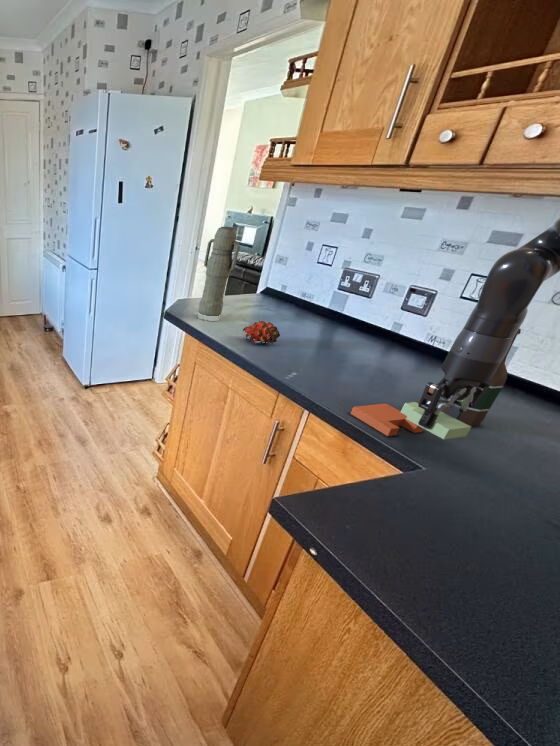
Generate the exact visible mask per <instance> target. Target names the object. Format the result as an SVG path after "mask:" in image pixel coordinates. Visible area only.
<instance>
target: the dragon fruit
mask: <svg viewBox="0 0 560 746" xmlns="http://www.w3.org/2000/svg"><path fill="white" fill-rule="evenodd" d="M242 332H244V333H245V334H244V337H245V336H246V337H245V338H247V337H248V336H249V338H250V339H249V340H251V342H254V344H256V345H258V344H259V343H256V342H255V341H261V342H260V343H261V344H262V345H268V343H270V344H271V343H273V342H274V343H276V342H277V341H278V340H277V339H279V338H280V337H281V334H280V331H279V329H278V327H277V326H275V325H274V324H273V323H272V322H271V321H268V322H266V321H264V320H258V322H257V321H256V322H254V323H253V324H250V325H248V326H245V327H244V328H243V329H242ZM253 339H255V340H253ZM262 342H265V343H262ZM266 342H268V343H266Z"/></svg>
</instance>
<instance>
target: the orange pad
mask: <svg viewBox="0 0 560 746" xmlns="http://www.w3.org/2000/svg"><path fill="white" fill-rule="evenodd" d="M350 415H352V416H353V417H355V418H357V419H358V420H360V421H362V422H363V423H365V424H367V425H368V426H370V427H372V428H373V429H375V430H376V431H378V432H380V433H381V434H382V435H385V436H386V437H392V436H397V435H398V432H399V431H400V427H402V428H405V429H406V430H408V431H409V432H412V433H414V434H415V433H416V434H417V433H422V432H423V431H424V430H425V429H424V428H422V427H420V426H418V425H416V424H414V423H413V422H411V421H409V420H407V419H406V418H407V416H406V415H404V414H402V413H401V410H399V409H398V408H396V407H393V406H391V405H390V404H389V403H378V404H377V403H375V404H368V405H357V406H352V409H351V411H350Z"/></svg>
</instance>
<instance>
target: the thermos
mask: <svg viewBox="0 0 560 746" xmlns="http://www.w3.org/2000/svg"><path fill="white" fill-rule="evenodd" d="M236 240H237V230H236V228H235V227H233V226H220V227H218V229H217V230H216V232H215V234H214V238H211V239H210V240H209V241H208V242H207V247H206V251H205V257H204V263H203V266H204V267H205V269H206V270H205V281H204V286H203V290H202V291H203V292H202V297H201V299H200V300H199V305H198V308H197V312H199V313H200V314H202V315H206V316H219V315H220V316H221V314H222V312H223V307H224V296H225V292H226V286H227V282H228V279H229V277H230V275H231V272H232V271H233V270H235V268H236V265H237V261H238V257H239V253H240V249H241V245H240V242H237V241H236ZM211 249H212V251H211ZM233 251H234V252H233ZM203 321H204V322H206V321H205V320H203Z"/></svg>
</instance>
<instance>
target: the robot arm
mask: <svg viewBox="0 0 560 746" xmlns="http://www.w3.org/2000/svg"><path fill="white" fill-rule="evenodd" d="M559 272H560V217H559V218H558V219H557V220H556V221H555V222H554V223H553V225H552V226H550V227H549V228H547V229H546V230H544V231H543V232H542V233H540V234H538V235H537V236H535V237H534V238H532V239H531V240H529V241H528V242H527V243H525V244H523V245H522V246H520V247H519V248H517V249H514V250H511V251H508V252H506V253H505V254H503V255H502V256H500V257H499V258H498V259H497V260H496V261H495V262H494V264H493V265H492V267H491V268H490V270H489V271H488V273H487V276H486V279H485V280H484V283H483V286H482V289H481V291H480V294H479V297H478V301H477V303H476V305H475V307H474V308H473V309H472V311H471V313H470V314H469V317H468V318H467V321H466V322H465V323H464V327H463V328H462V329H461V331H460V332H459V333H458V335H457V336H456V338H455V340H454V342H453V343H452V345H451V347H450V348H449V350H448V353H447V355H446V357H445V358H444V361H443V363H442V364H441V366H440V368H441V371H442V372H443V373H444V376H443V378H442V379H440V380H439V382H438V383H434V382H432V381H429V382H427V383H426V385H425V387H424V390H423V392H422V395H421V397H420V399H419V402H418V404H419V405H418V406H419V407H420V408H422V409H424V410H425V411H424V413H423V415H422V417H421V419H420V420H419V422H418V424H419V425H420V426H422V427H424V428H426V429H430V428H431V427H432V425H433V424H434V422H435V420H436V419H437V417H438V415H439V413H440V412H441V411H442V410H443V409H444V408H445V407H448V406H450V405H451V406H453V407H449V409H448V410H447V412H446V414H447V415H449V416H451V417H453V418H455V419H457V420H459V418H460V416H461V414H462V413H463V411H467V410H468V408H469V407H470V408H474V407H475V406H476V405H477V404H478V402H479V401H480V399H481V398H482V396H483V395H484V394H485V392H486V391H487V389H488V388H489V387H490V385H491V383H489V382H488V381H490V380H491V379H492V377H493V375H494V374H495V372H496V370H497V369H498V367H499V365H500V363H501V362H502V360H503V358H504V357H505V355H506V353H507V352H508V350H509V348H510V346H511V343H512V340H513V338H514V336H515V334H516V333H517V331H518V329H519V328H520V329H521V326H522V324H523V323H524V321H525V319H526V317H527V314H528V307H529V305H530V304H531V302H532V300H533V299H534V297H535V296H536V294H537V292H538V291H539V289H540V287H542V284H543V283H544V282H545V281H547V280H548V279H551V278H552V277H554V276H555V275H557V274H558V273H559ZM473 396H474V399H473ZM445 399H447V400H445ZM438 403H439V404H438Z"/></svg>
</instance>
